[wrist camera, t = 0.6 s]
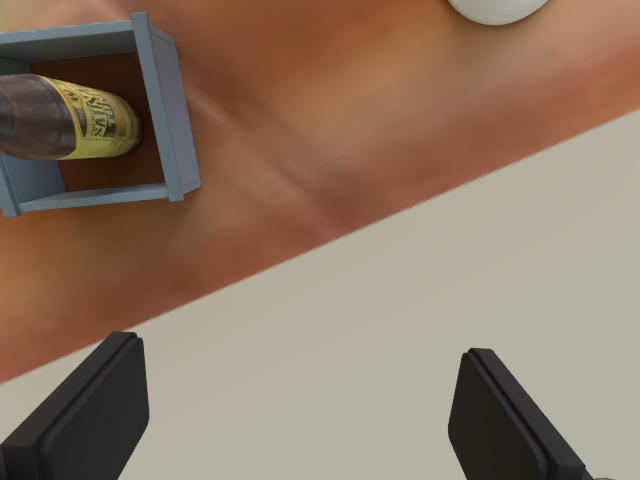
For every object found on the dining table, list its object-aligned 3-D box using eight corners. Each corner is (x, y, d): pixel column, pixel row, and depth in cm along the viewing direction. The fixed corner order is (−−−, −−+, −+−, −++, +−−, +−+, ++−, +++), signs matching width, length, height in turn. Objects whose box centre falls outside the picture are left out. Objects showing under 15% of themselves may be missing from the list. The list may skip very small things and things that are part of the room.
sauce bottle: (158, 134, 39) (10, 137, 20) (113, 166, 40) (-71, 198, 21) (117, 78, 38) (-87, 21, 18) (70, 112, 38) (-170, 93, 19)
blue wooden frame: (14, 52, 37) (-60, 32, 29) (178, 35, 37) (144, 11, 29) (59, 202, 41) (3, 218, 34) (205, 188, 41) (182, 200, 33)
